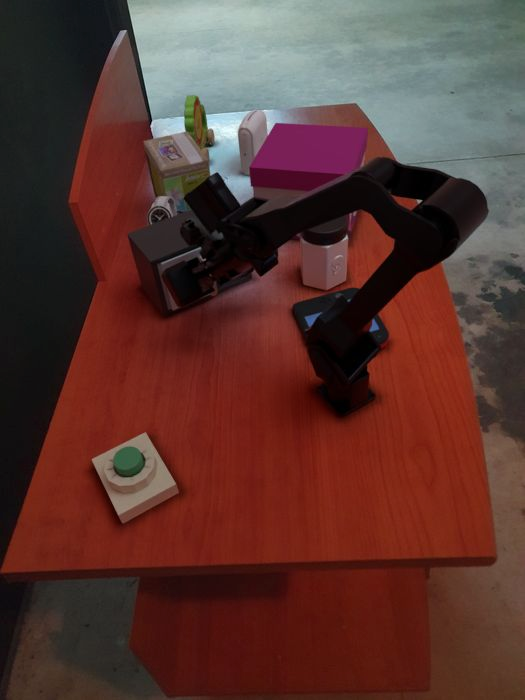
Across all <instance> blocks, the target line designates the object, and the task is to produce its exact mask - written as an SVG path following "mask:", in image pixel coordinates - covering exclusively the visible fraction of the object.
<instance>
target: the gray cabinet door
mask: <svg viewBox="0 0 525 700" xmlns="http://www.w3.org/2000/svg"><path fill="white" fill-rule="evenodd" d="M201 250H202V249H201V247H200V248H197V249H195V250H192V251H190V252H187V253H185V254H182V255H180V256H177V257H175V258H172V259H170V260H167V261H165V262H162V263H161V266H162V270H163V271H164V270H165V269H167V268H169V267H171V266H173V265H175V264H177V263H179V262H181V261H183V260H185V261H186V262H187V261H189V260H191V259H193V258H196V257H197V258H198V260H199V261H200V263H201V262H203V261H205V260H206V259H204V260H203V259H202V257H201V255H200V253H199V252H200V251H201ZM206 268H207V266H206ZM210 276H211V277H212V275H211V274H210ZM213 287H214V289H215V291H214V292H212V293H210V294H208V295H211V296H212V297H215V296H217V295H218V294H217V292H218V289H217V283H216V281H214V286H213ZM167 291H168V295H169V299H170V303H171V307H172V310H176V309H178V308H180V307H177V305H176V303H175V301H174V300H173V298H172V296H171V294H170V292H169V290H168V289H167ZM208 295H206V296H208ZM206 296H204V297H206ZM202 298H203V297H202Z"/></svg>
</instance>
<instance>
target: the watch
mask: <svg viewBox="0 0 525 700" xmlns="http://www.w3.org/2000/svg"><path fill="white" fill-rule="evenodd" d="M175 215H177V208H176V207H175V202H174V199H173V198H172V197H171V196H159V197H157V199H156V200H154V202H153V203H152V205H151V208H150V209H149V211H148V212H147V216H146V218H147V221H146V222H147V225H148V226H149V225H151V224H154V223H157V222H159V221H162V220H165V219H167V218H170V217H173V216H175Z"/></svg>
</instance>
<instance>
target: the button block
mask: <svg viewBox="0 0 525 700" xmlns="http://www.w3.org/2000/svg"><path fill="white" fill-rule="evenodd" d="M128 446H132V447H136V448H137V449H139V451H140V452H141V455H142V457H143V460H144V465H143V468H142V470H141V471H140V472H139V473H138V474H136V475H134V476H132V477H123V476H121V475H120V474H118V472H117V470H116V468H115V466H114V463H113V458H114V456H115V454H116V453H117V452H118V451H119V450H120V449H122V448H124V447H128ZM91 462H92V464H93V466H94V468H95V470H96V472H97V474H98V476H99V478H100V480H101V483H102V485H103V487H104V489H105V491H106V493H107V495H108V498H109V499H110V502H111V503H112V505H113V508H114V510H115V512H116V514H117V517H118V519H119V520H120V522H121V524H122V525H123V524H125V523H127V522H129V521H130V520H132V519H134V518H136V517H138V516H140V515H142V513H145V512H146V511H148V510H151V509H152V508H154V507H156V506H157V505H159V504H161V503H163V502H165V501H166V500H169V499H170V498H172V497H174V496H176V495H178V494H179V493H180V492H179V489H178V486H177V483H176V481H175V479H174V478H173V476H172V474H171V472H170V471H169V470H168V468H167V466H166V463H164V461H163V459H162V457H161V456H160V453H159V452H158V451H157V449H156V447H155V446H154V444H153V442H152V441H151V439H150V437H149V436H148V434H147V432H146V431H145V432H143V433H141V434H139V435H137V436H135V437H133V438H131V439H129V440H127V441H125V442H123V443H121V444H119V445H117V446H115V447H112V448H111V449H109V450H106V451H105V452H103V453H101V454H99V455H97V456H95V457H93V458H92V459H91Z"/></svg>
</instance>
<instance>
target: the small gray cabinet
mask: <svg viewBox="0 0 525 700" xmlns="http://www.w3.org/2000/svg"><path fill="white" fill-rule="evenodd" d="M193 213H194V212H193V211H192V210H189V211H186V212H183V213H181V214H178V215H175V216H173V217H170V218H167V219H165V220H162V221H159V222H157V223H154V224H151V225H149V224H148V225H146V226H144V227H143V226H142V227H141V228H138V229H135V230H132V231H130V232H128V233H126V234H127V238H128V242H129V246H130V249H131V253H132V257H133V261H134V263H135V268H136V270H137V271H136V272H137V274H138V278H139V281H140V285H141V288H142V290H143V291H144V293H145V294H146V295H147V296H148V297H149V299H150V301H152V303H153V304H154V306H155V307H156V308H157V309H158V310H159V312H160V313H161V314H162V317H164V318H166V317H168V316H171V315H173V314H175V313H178V312H179V311H182V310H184V309H186V308H189V307H191V306H193V305H196V304H198V303H200V302H202V301H205V300H207V299H210V298H213V296H211V295H208V296H206V297H203V298H201V299H199V300H197V301H195V302H193V303H191V304H189V305H187V306H185V307H183V308H178V309H176V310H172V307H171V303H170V299H169V295H168V291H167V287H166V285H165V283H164V281H163V279H162V278H161V276H162V272H163V270H162V266H161V263H162V262H165V261H167V260H170V259H172V258H175V257H177V256H180V255H182V254H185V253H187V252H190V251H192V250H195V249H197V248H200V246H198V247H197V246H196V245H192V246H188V245H187V243H186V242H185V241H184V239H183V238H182V236H181V234H180V228H181V226H182V223H183V222H185V219H187V218H190V216H191V214H193ZM251 280H253V272H251V273H249V274H247V275H245V276H243V277H241V278H238V277H237V278H235V279H233V280H231V281H230V282H228V283H226V284H224V285H222V286H220V285H219V283H218V281H217V280H216V283H217V289H218V292H217V295H218V294H221V293H223V292H226V291H228V290H230V289H232V288H235V287H237V286H239V285H241V284H244V283H246V282H248V281H251Z"/></svg>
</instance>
